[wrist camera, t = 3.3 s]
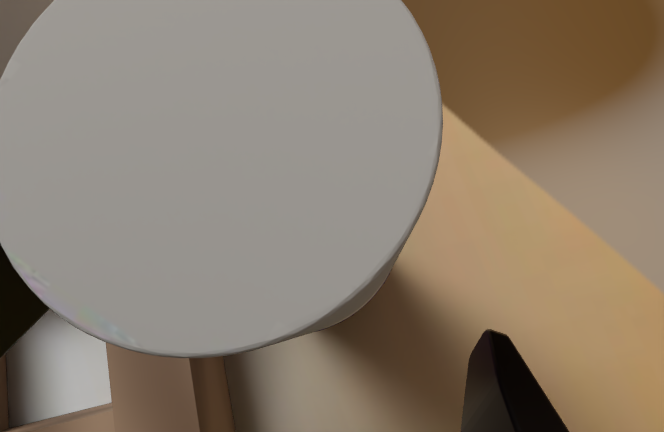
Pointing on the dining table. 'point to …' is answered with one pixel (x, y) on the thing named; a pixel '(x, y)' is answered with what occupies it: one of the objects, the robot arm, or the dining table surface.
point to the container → (214, 165)
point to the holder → (146, 397)
